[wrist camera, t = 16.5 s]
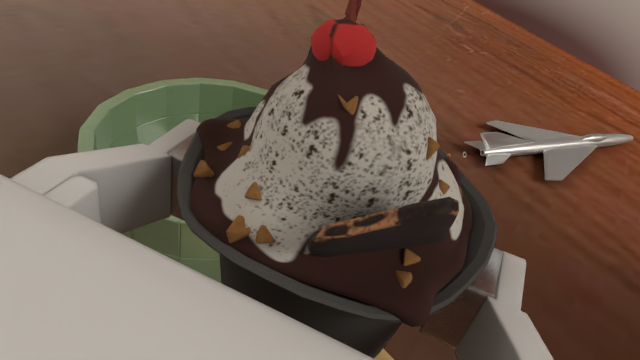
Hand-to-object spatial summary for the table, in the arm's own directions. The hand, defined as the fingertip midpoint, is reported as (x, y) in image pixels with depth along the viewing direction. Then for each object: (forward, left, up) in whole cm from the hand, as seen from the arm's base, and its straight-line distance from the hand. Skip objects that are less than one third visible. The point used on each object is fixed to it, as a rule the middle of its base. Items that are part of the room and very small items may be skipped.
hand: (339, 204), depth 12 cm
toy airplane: (-29, -7, -12) cm, 32 cm away
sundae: (+1, 0, -9) cm, 9 cm away
